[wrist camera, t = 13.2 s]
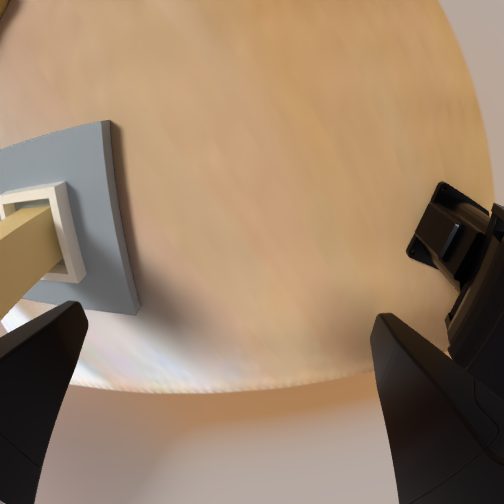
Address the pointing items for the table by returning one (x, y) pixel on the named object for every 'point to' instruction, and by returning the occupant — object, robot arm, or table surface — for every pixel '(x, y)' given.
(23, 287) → the pillar
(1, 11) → the pastry
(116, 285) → the baseplate
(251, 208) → the table surface
